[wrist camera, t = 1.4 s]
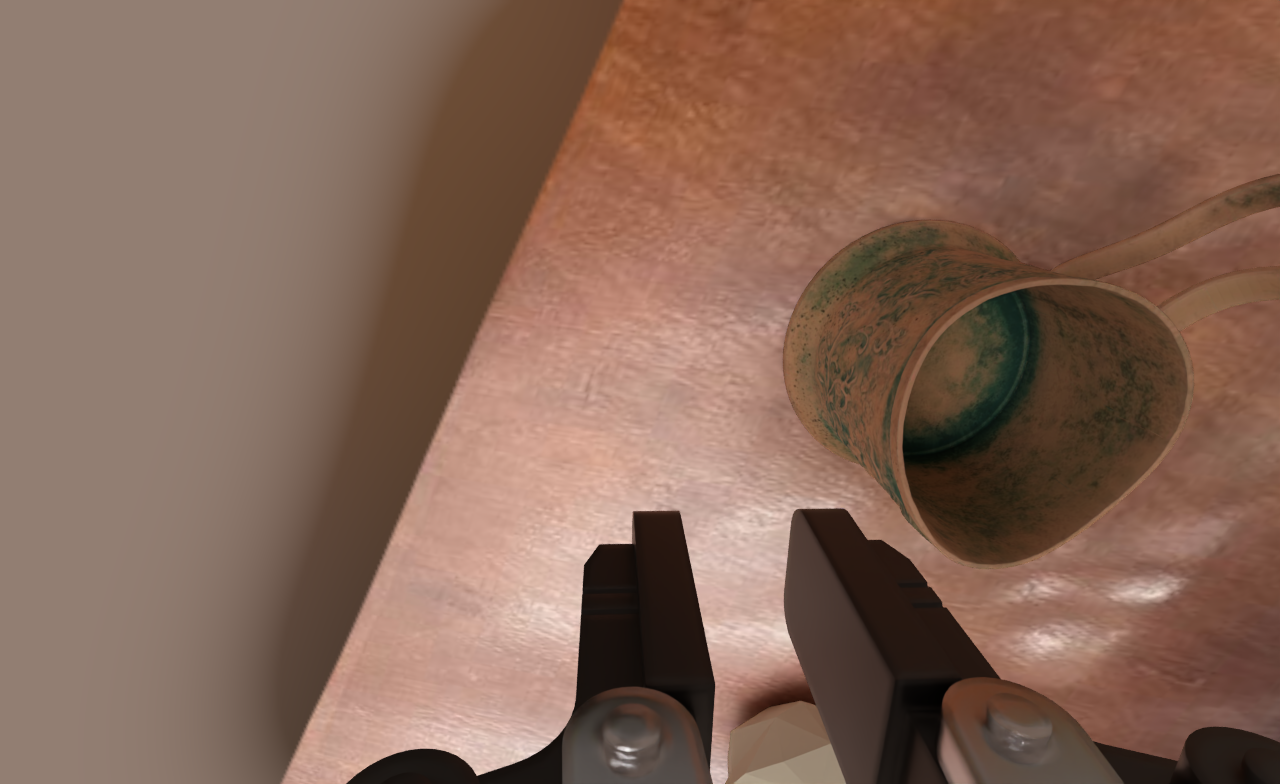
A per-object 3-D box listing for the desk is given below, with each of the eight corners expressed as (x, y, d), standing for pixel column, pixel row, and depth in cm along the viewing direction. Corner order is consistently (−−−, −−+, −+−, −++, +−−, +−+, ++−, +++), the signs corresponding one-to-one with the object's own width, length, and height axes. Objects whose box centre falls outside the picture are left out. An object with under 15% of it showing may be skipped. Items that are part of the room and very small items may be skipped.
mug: (1197, 275, 29) (1581, 348, 17) (872, 508, 32) (1017, 696, 21) (1080, 55, 25) (1459, -33, 14) (731, 339, 29) (812, 452, 17)
